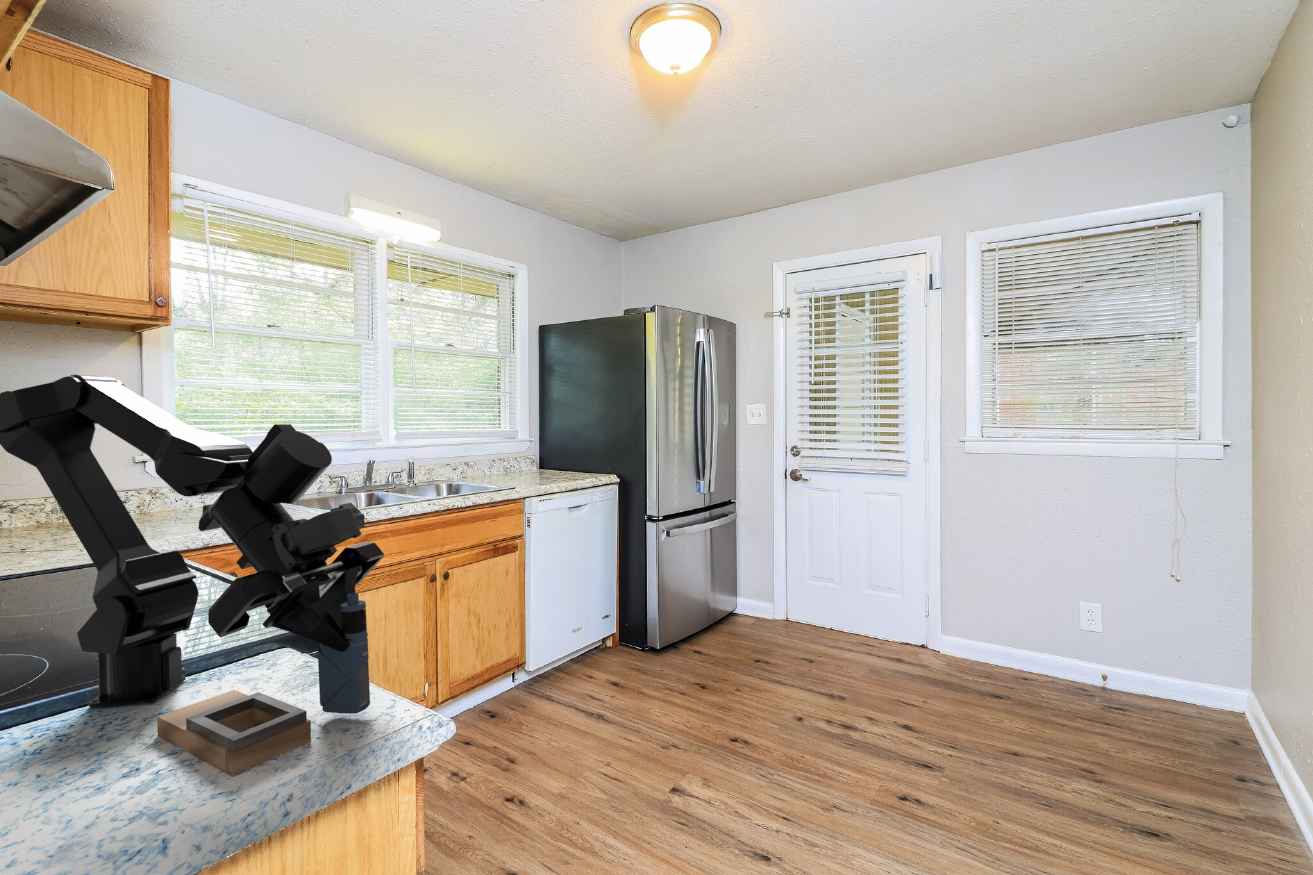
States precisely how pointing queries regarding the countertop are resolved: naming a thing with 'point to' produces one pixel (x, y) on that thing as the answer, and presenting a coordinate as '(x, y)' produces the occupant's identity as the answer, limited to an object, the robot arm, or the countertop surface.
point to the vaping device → (346, 664)
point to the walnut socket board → (236, 730)
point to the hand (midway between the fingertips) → (355, 643)
